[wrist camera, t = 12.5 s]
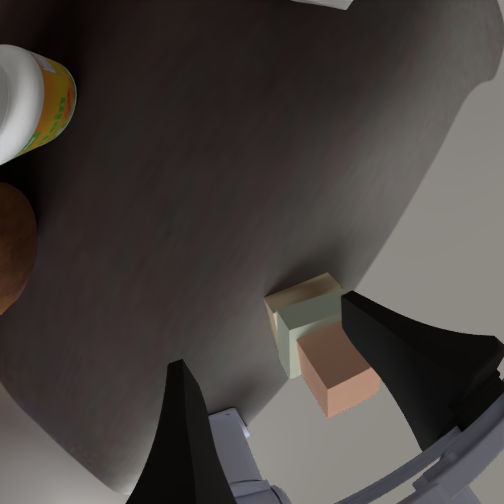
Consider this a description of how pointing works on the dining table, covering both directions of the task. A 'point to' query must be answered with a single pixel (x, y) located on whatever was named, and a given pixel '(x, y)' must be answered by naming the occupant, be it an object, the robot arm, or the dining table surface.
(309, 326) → the tower top block
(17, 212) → the wooden figurine
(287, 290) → the tower base block
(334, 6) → the die
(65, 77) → the supplement bottle
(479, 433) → the robot arm
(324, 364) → the terracotta block
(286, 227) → the dining table surface
